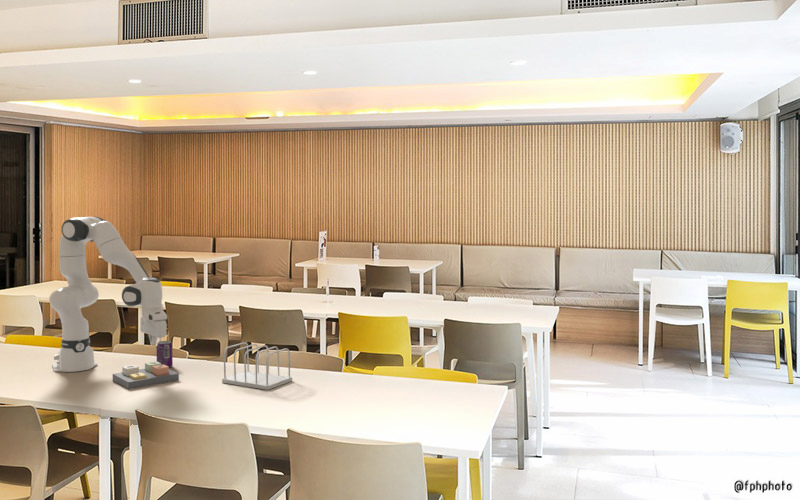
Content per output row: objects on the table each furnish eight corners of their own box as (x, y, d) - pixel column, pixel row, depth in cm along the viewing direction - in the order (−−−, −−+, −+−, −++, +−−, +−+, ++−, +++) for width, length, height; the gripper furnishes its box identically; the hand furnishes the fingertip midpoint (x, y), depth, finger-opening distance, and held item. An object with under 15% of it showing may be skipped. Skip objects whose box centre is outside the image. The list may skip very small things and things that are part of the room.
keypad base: (112, 380, 296) (112, 373, 296) (161, 372, 311) (161, 365, 311) (128, 389, 283) (128, 382, 283) (178, 380, 298) (178, 373, 298)
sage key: (145, 370, 303) (144, 362, 303) (156, 368, 307) (156, 360, 307) (149, 372, 299) (149, 364, 299) (161, 370, 303) (161, 362, 303)
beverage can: (175, 365, 323) (174, 340, 323) (168, 369, 316) (168, 344, 316) (160, 365, 324) (160, 340, 323) (154, 368, 317) (153, 343, 316)
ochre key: (129, 381, 291) (129, 374, 291) (141, 379, 294) (141, 372, 294) (134, 384, 287) (134, 376, 287) (146, 382, 291) (146, 374, 290)
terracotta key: (152, 373, 297) (152, 365, 297) (163, 371, 301) (163, 364, 301) (157, 375, 294) (157, 368, 293) (168, 373, 297) (168, 366, 297)
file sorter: (292, 381, 299) (292, 346, 297) (267, 391, 283) (267, 354, 282) (247, 374, 310) (247, 340, 309) (221, 383, 294) (221, 347, 293)
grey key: (122, 373, 296) (122, 366, 296) (134, 371, 300) (134, 364, 300) (127, 376, 293) (126, 368, 292) (138, 374, 296) (138, 366, 296)
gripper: (136, 312, 307) (137, 342, 308) (154, 317, 292) (155, 349, 293) (149, 310, 311) (150, 340, 312) (168, 315, 296) (169, 347, 297)
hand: (153, 344), depth 302 cm, fingers closed
